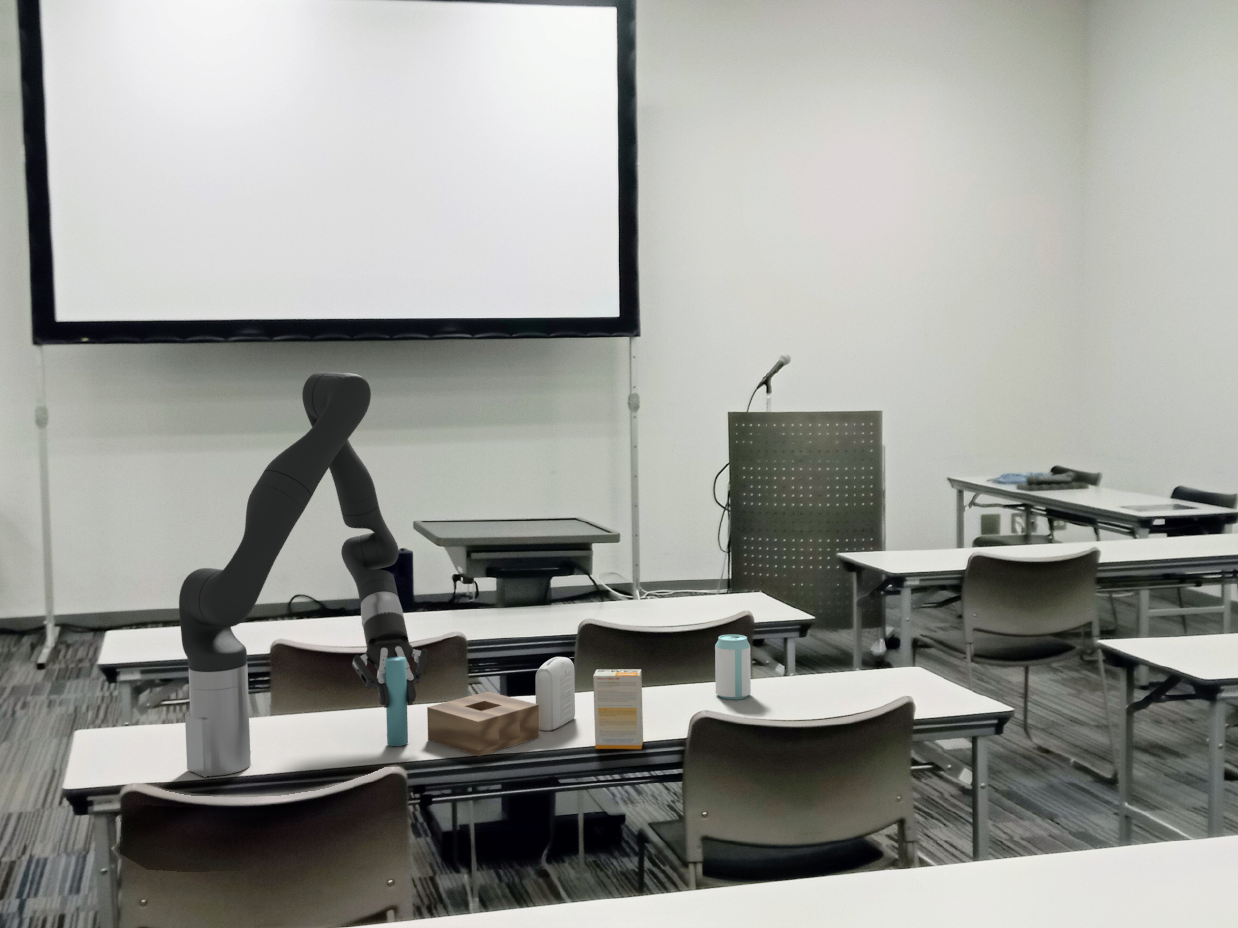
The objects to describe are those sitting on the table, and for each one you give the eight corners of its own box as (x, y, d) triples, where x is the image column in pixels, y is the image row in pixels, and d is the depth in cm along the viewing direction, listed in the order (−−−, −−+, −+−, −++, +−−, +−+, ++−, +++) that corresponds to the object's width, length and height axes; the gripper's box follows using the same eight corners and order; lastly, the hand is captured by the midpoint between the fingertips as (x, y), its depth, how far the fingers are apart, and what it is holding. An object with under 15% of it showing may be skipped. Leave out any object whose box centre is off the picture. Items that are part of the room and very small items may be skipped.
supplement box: (643, 741, 203) (642, 668, 202) (641, 750, 198) (640, 675, 198) (597, 741, 204) (596, 667, 203) (593, 749, 199) (592, 674, 198)
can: (711, 692, 236) (711, 634, 235) (744, 690, 237) (744, 632, 236) (720, 701, 229) (720, 641, 228) (755, 699, 230) (754, 639, 229)
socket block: (478, 756, 196) (477, 721, 196) (428, 740, 206) (427, 706, 205) (539, 737, 206) (538, 704, 206) (488, 722, 216) (487, 691, 216)
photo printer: (557, 715, 220) (556, 651, 220) (578, 717, 219) (577, 653, 218) (532, 730, 211) (531, 663, 210) (553, 732, 209) (552, 665, 209)
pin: (395, 747, 201) (393, 662, 200) (383, 743, 203) (381, 659, 202) (412, 742, 204) (410, 658, 203) (399, 738, 206) (398, 655, 205)
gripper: (346, 614, 206) (360, 697, 196) (424, 607, 212) (442, 688, 201) (342, 637, 211) (355, 720, 201) (418, 630, 217) (435, 710, 206)
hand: (399, 703), depth 201 cm, fingers closed on pin, 3 cm apart
